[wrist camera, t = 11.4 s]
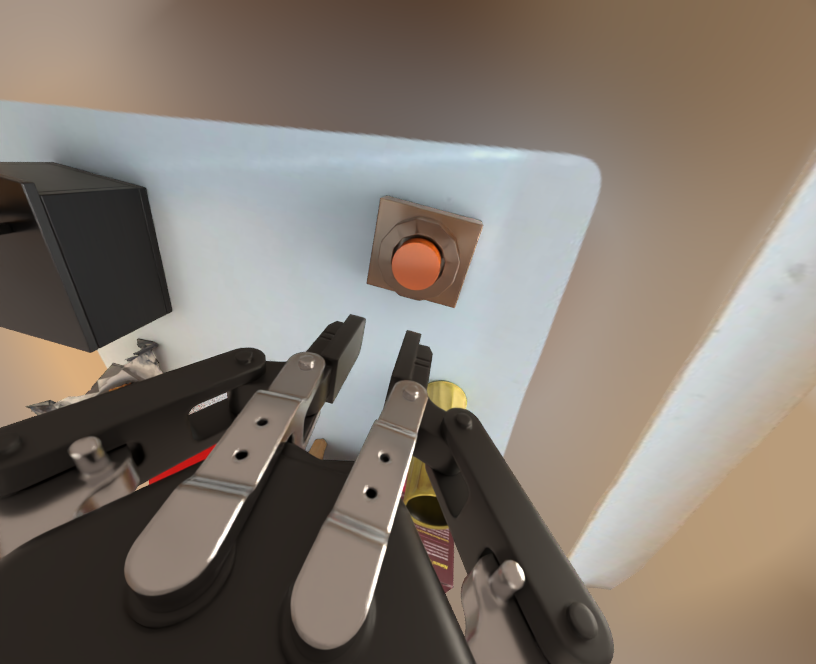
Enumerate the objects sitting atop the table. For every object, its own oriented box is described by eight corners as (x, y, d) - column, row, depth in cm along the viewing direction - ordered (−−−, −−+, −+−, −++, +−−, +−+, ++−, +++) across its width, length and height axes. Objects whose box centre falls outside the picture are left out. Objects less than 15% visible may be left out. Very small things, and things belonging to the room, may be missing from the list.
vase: (439, 423, 40) (429, 539, 28) (408, 394, 38) (383, 504, 26) (476, 403, 37) (483, 521, 25) (444, 371, 35) (435, 481, 23)
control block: (385, 195, 27) (374, 199, 23) (481, 220, 27) (485, 229, 23) (372, 276, 31) (360, 290, 28) (455, 299, 31) (454, 316, 27)
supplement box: (389, 447, 44) (356, 575, 30) (401, 426, 41) (371, 556, 28) (442, 468, 44) (434, 604, 31) (457, 450, 42) (455, 588, 28)
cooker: (53, 162, 30) (-83, 161, 23) (146, 187, 30) (39, 195, 23) (98, 290, 38) (7, 321, 30) (172, 311, 38) (99, 348, 30)
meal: (133, 337, 41) (9, 402, 30) (162, 343, 41) (47, 412, 29) (163, 414, 49) (73, 489, 37) (188, 419, 48) (105, 497, 37)
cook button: (400, 232, 25) (396, 236, 23) (447, 244, 25) (446, 250, 23) (391, 276, 27) (387, 283, 25) (434, 288, 27) (432, 295, 25)
